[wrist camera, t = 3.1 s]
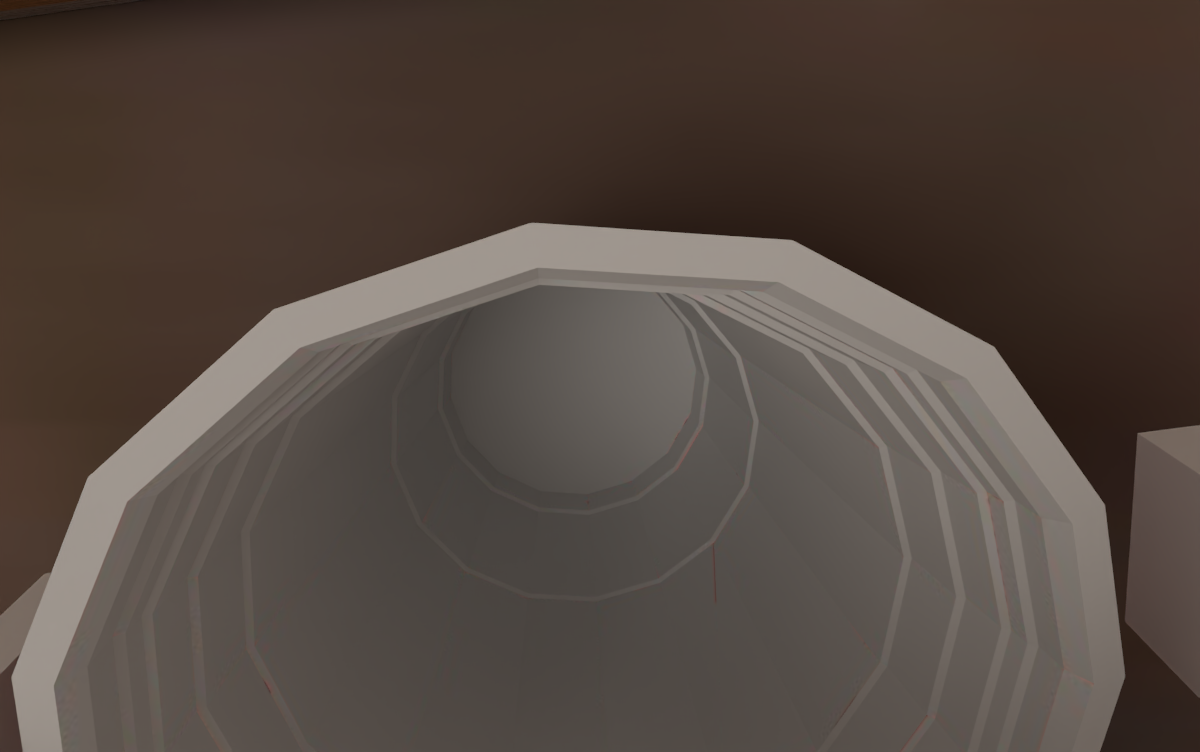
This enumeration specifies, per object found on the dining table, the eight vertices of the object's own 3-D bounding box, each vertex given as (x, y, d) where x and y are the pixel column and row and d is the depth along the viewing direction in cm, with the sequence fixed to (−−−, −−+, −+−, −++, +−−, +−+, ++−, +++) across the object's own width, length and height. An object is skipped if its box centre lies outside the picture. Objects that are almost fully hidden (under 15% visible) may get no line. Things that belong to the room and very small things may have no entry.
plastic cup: (735, 639, 22) (913, 1237, 11) (293, 538, 21) (-33, 1097, 9) (902, 211, 19) (1407, 423, 8) (392, 59, 18) (76, 38, 6)
